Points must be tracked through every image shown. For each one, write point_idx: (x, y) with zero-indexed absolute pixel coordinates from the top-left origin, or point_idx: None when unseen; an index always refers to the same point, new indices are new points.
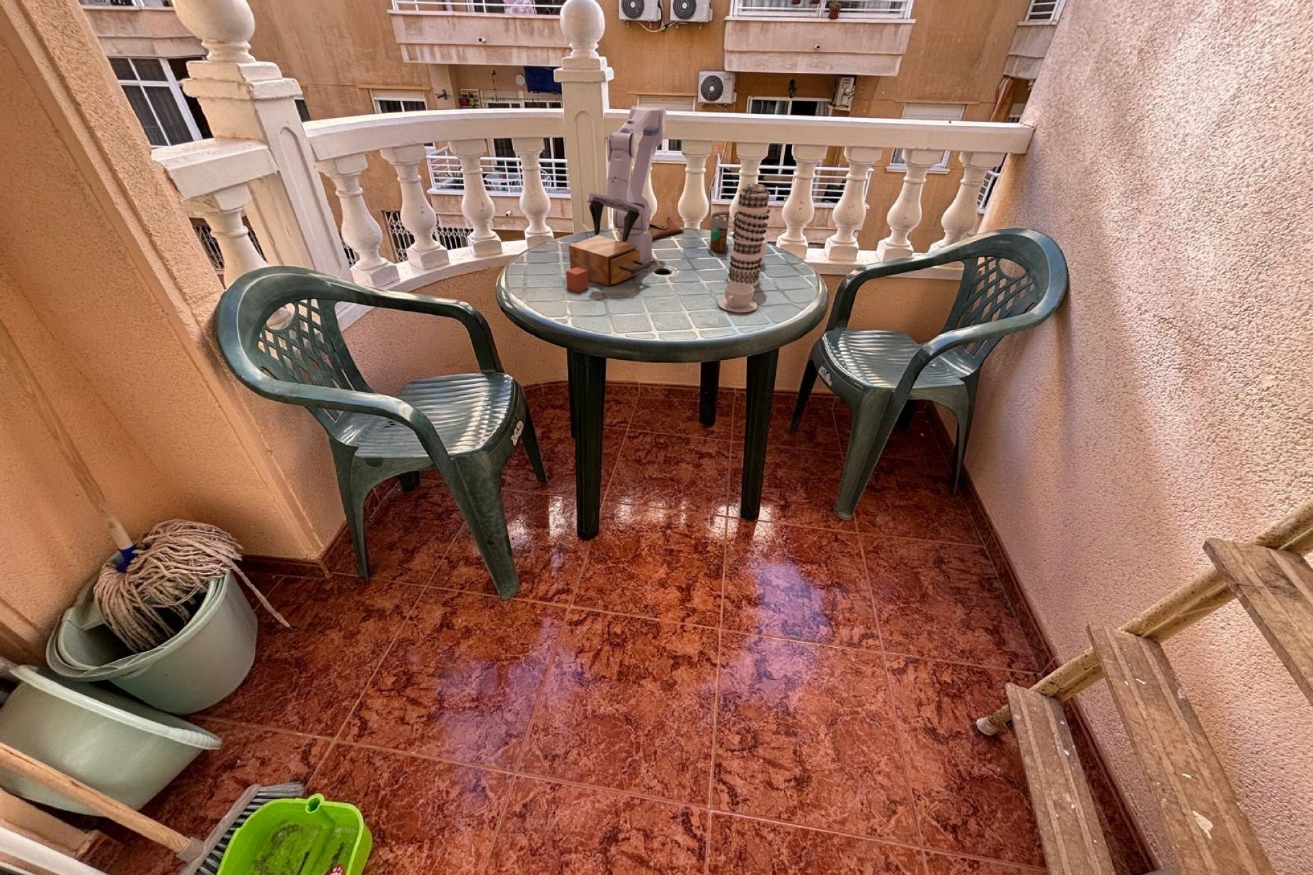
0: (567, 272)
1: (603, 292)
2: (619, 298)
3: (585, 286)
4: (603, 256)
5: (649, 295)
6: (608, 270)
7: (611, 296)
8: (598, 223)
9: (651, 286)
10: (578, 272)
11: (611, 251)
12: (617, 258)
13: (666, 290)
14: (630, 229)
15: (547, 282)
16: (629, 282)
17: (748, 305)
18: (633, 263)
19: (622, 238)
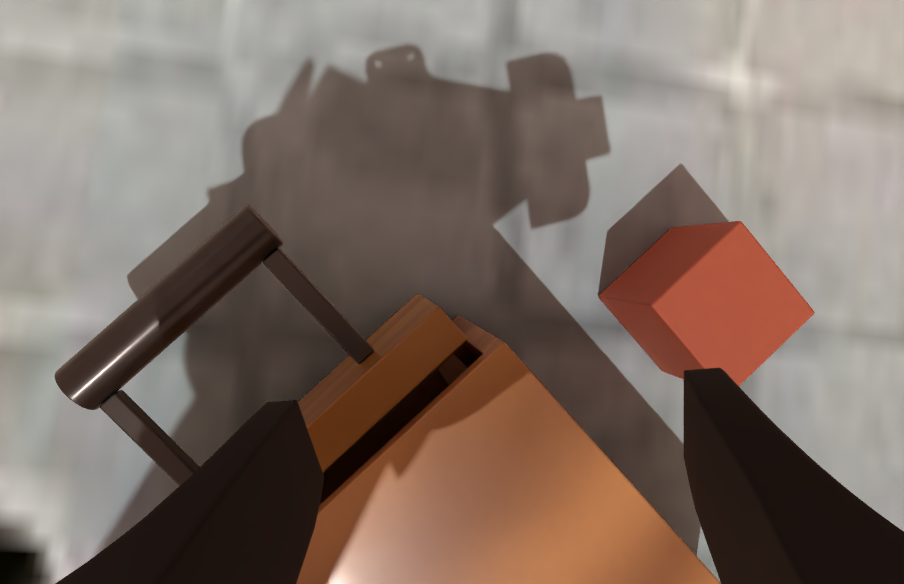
0: (799, 299)
1: (500, 206)
2: (400, 81)
3: (624, 277)
4: (533, 377)
5: (166, 104)
6: (468, 336)
7: (452, 126)
8: (767, 442)
9: (121, 282)
10: (724, 265)
11: (440, 503)
12: (390, 369)
13: (8, 186)
14: (173, 495)
15: (848, 425)
16: (287, 379)
17: None
18: None
19: (316, 514)
